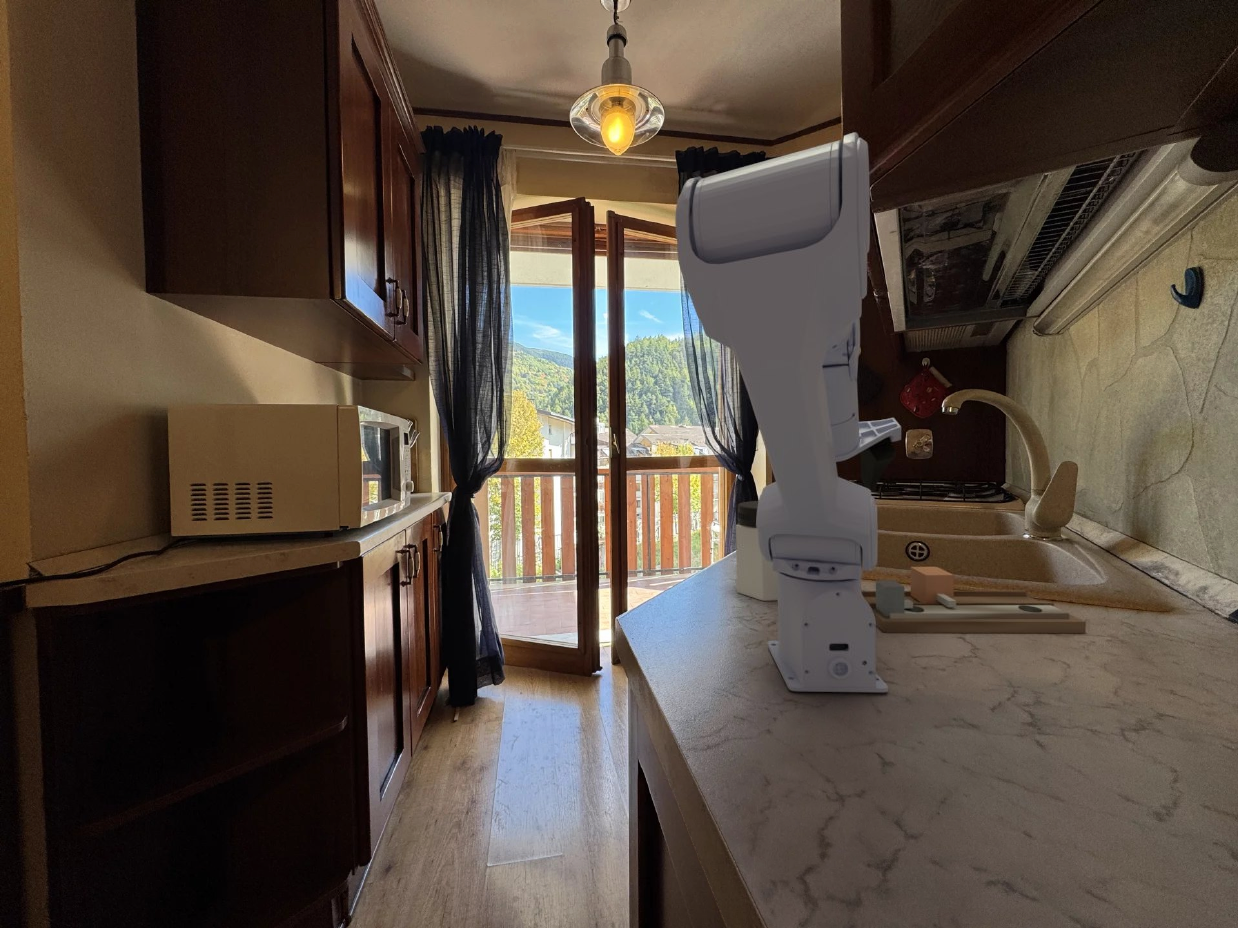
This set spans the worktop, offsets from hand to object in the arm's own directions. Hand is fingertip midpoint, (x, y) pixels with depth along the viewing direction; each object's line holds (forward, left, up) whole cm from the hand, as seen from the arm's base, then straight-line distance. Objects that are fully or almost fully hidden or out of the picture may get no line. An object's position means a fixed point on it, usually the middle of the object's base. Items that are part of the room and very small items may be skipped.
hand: (837, 495), depth 64 cm
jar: (+3, +8, -14) cm, 16 cm away
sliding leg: (-6, -9, -12) cm, 16 cm away
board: (-7, -11, -13) cm, 19 cm away
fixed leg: (-9, -3, -12) cm, 16 cm away
